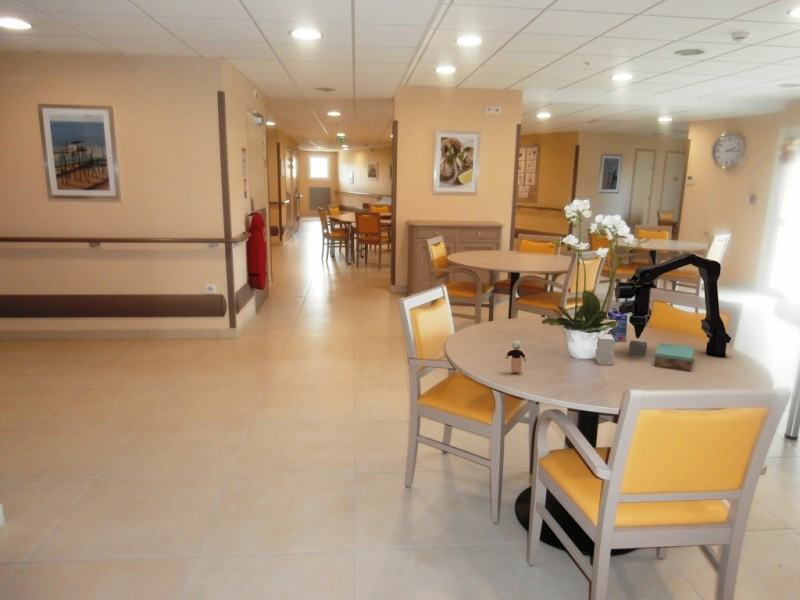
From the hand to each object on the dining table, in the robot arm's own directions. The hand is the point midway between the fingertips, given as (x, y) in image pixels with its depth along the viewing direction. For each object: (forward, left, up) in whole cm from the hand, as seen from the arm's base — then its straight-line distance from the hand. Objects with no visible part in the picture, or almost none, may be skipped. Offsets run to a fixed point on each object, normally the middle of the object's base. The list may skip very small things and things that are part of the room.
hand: (639, 335), depth 218 cm
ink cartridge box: (+12, -20, -8) cm, 25 cm away
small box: (+10, +17, -8) cm, 21 cm away
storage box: (-14, +5, -8) cm, 17 cm away
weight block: (0, 0, -8) cm, 8 cm away
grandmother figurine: (+36, +47, -8) cm, 60 cm away
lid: (-14, +5, -4) cm, 15 cm away
